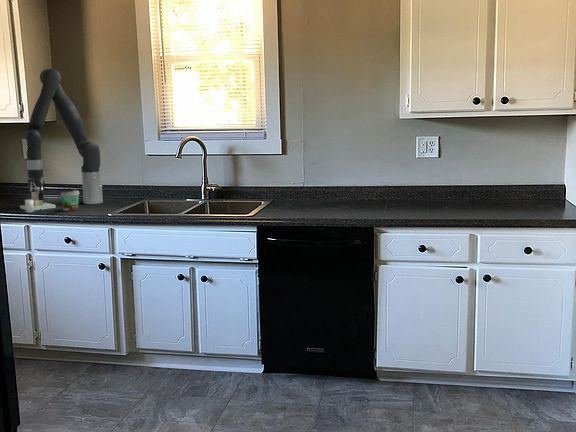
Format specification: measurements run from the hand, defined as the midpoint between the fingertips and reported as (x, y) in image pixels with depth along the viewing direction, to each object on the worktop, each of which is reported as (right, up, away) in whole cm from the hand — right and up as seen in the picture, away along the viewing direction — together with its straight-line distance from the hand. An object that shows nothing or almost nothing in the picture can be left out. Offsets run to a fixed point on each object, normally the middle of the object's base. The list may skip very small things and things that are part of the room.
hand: (37, 199), depth 346 cm
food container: (+21, -6, -7) cm, 23 cm away
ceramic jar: (0, -7, -10) cm, 12 cm away
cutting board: (0, -5, +1) cm, 5 cm away
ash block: (0, -3, 0) cm, 3 cm away
